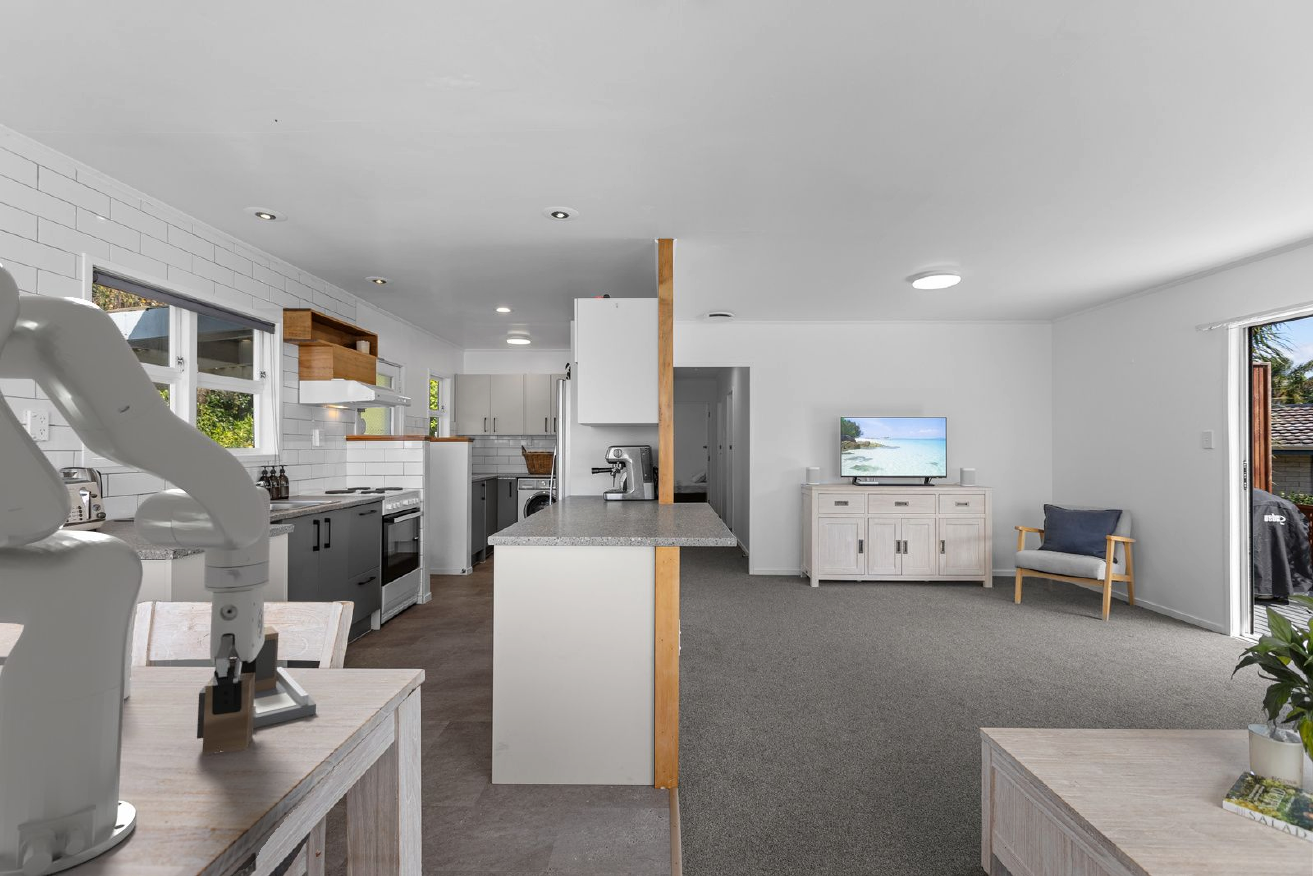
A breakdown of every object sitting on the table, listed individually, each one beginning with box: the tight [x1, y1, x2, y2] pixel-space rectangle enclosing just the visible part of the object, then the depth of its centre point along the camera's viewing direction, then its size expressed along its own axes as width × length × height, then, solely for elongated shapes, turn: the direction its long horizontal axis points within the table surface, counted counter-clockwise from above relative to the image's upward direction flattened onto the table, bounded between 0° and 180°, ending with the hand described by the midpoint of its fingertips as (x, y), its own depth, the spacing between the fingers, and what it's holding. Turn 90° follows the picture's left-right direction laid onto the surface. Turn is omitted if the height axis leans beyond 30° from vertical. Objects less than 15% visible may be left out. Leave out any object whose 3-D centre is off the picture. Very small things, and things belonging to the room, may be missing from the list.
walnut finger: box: [196, 673, 255, 756], centre depth 87 cm, size 4×6×9 cm
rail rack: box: [253, 626, 317, 729], centre depth 101 cm, size 18×10×10 cm, turn 43°
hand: (235, 698), depth 88 cm, fingers open, 9 cm apart
